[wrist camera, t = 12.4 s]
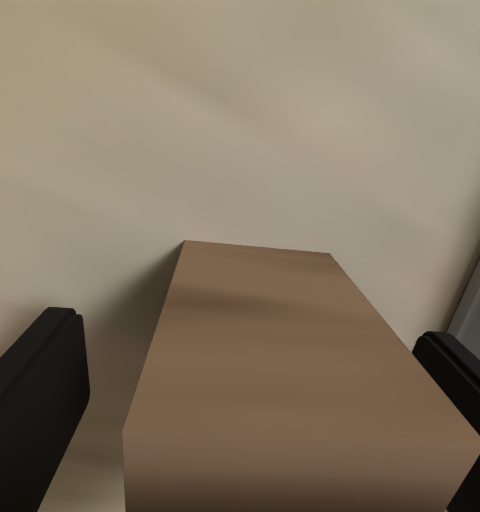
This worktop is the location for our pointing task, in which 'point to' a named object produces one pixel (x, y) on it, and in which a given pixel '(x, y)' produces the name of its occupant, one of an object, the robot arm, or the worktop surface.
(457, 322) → the rail track
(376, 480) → the walnut block
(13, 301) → the worktop surface
